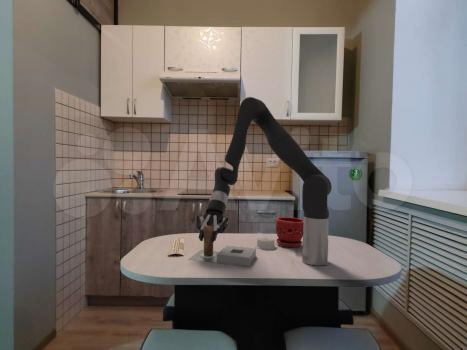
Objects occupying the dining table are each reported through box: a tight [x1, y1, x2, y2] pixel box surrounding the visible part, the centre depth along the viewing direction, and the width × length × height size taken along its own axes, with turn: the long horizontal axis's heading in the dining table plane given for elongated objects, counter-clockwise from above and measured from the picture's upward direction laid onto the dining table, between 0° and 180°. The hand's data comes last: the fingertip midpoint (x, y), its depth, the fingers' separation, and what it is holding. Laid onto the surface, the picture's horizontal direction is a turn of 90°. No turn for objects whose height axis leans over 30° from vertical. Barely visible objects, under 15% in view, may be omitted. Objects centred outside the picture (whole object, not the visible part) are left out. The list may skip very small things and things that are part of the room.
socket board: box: [187, 245, 257, 268], centre depth 111 cm, size 23×13×4 cm, turn 75°
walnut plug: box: [203, 225, 214, 256], centre depth 112 cm, size 4×4×11 cm
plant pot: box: [275, 216, 303, 248], centre depth 135 cm, size 13×13×12 cm
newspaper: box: [167, 237, 185, 257], centre depth 126 cm, size 24×7×2 cm, turn 8°
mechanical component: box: [253, 237, 278, 251], centre depth 128 cm, size 10×4×10 cm
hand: (206, 240), depth 110 cm, fingers open, 4 cm apart
